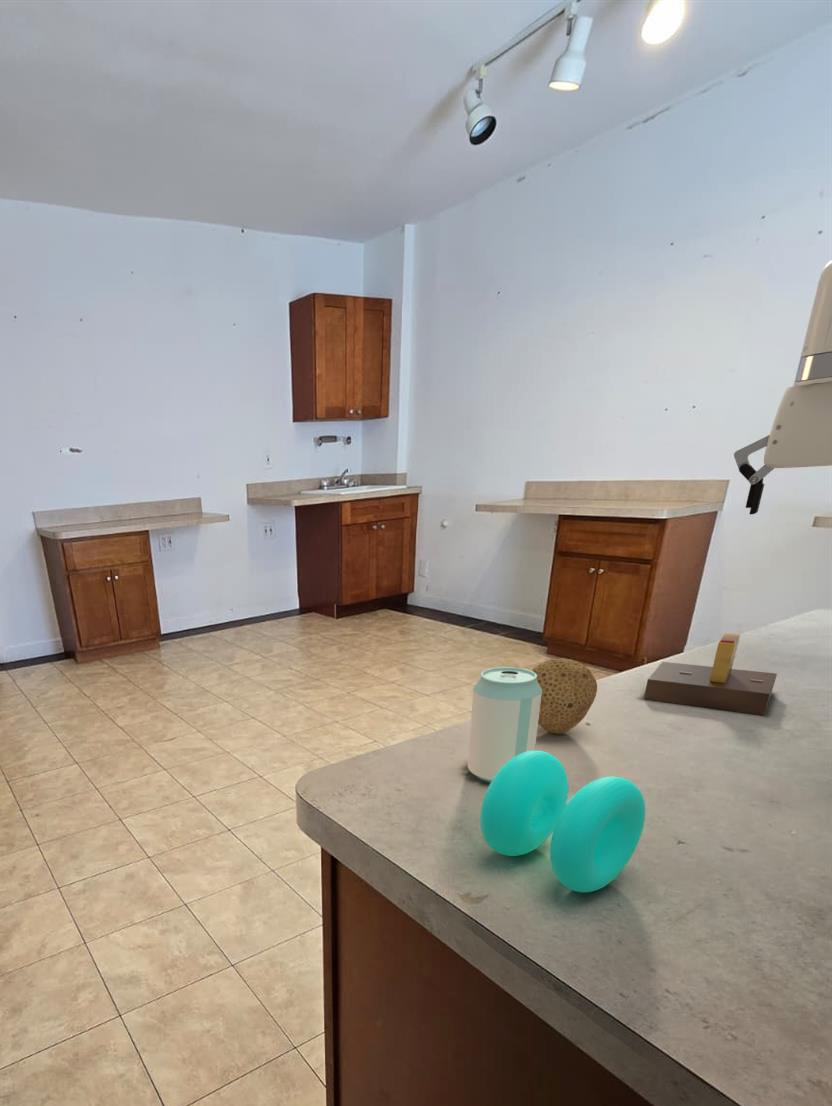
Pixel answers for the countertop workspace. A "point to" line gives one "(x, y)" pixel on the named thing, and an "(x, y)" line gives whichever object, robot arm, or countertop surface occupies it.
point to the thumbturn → (724, 657)
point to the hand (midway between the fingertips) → (795, 512)
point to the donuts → (563, 819)
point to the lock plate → (710, 688)
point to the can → (502, 719)
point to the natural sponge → (564, 693)
